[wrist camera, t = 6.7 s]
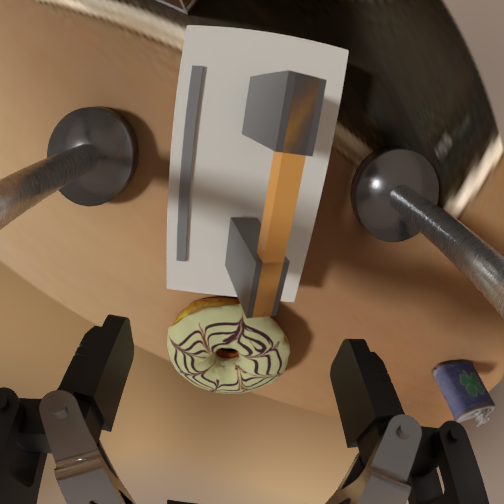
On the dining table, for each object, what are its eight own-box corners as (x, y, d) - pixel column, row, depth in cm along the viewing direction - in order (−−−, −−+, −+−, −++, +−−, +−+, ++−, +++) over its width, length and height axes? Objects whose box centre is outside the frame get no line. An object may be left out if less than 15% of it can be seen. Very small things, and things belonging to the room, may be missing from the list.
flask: (427, 373, 32) (457, 436, 22) (440, 358, 31) (474, 422, 21) (464, 372, 33) (492, 424, 24) (475, 358, 32) (506, 411, 23)
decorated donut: (258, 271, 23) (261, 300, 20) (300, 353, 28) (306, 382, 25) (151, 311, 25) (140, 340, 22) (208, 380, 30) (206, 408, 27)
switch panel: (175, 266, 23) (166, 290, 20) (195, 36, 15) (186, 24, 12) (288, 279, 24) (294, 303, 21) (333, 57, 16) (349, 49, 13)
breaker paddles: (224, 264, 18) (246, 318, 14) (250, 76, 13) (288, 70, 9) (249, 264, 19) (276, 315, 15) (279, 81, 14) (326, 79, 10)
